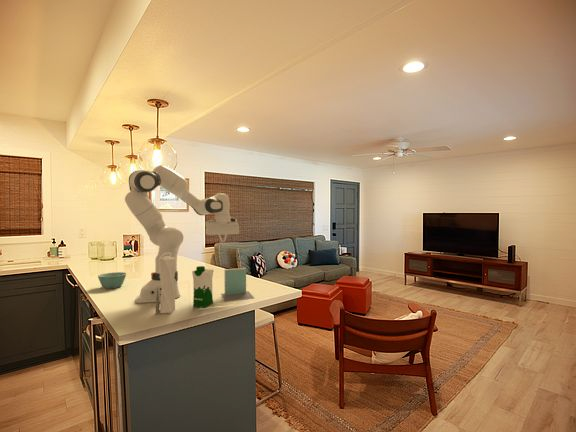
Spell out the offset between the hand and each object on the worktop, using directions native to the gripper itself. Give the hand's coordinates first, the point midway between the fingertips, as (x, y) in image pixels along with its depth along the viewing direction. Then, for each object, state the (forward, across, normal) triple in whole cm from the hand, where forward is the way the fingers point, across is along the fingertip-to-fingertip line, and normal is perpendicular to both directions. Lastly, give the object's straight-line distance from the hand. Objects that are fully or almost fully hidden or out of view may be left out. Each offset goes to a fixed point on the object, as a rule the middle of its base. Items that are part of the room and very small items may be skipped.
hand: (223, 241), depth 185 cm
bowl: (+27, -66, +30) cm, 77 cm away
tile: (+29, +5, -14) cm, 33 cm away
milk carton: (+31, -14, -29) cm, 45 cm away
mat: (+30, +5, -20) cm, 36 cm away
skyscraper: (+31, -31, -32) cm, 55 cm away
